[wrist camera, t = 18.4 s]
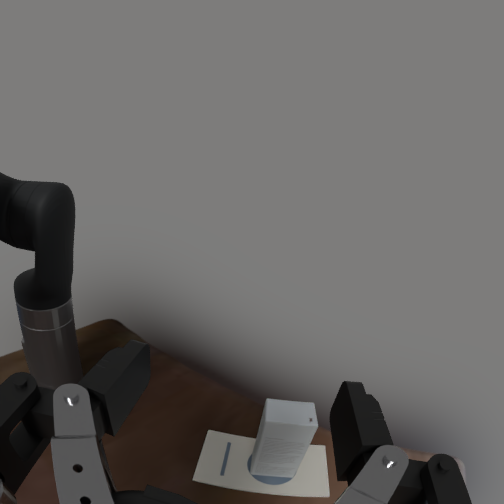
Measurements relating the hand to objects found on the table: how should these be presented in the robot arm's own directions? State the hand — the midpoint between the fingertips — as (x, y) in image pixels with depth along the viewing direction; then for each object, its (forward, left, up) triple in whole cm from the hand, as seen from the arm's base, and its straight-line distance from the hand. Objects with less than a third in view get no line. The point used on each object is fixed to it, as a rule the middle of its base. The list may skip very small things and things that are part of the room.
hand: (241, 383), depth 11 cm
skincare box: (+6, +15, -28) cm, 32 cm away
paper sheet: (+5, +15, -28) cm, 32 cm away
